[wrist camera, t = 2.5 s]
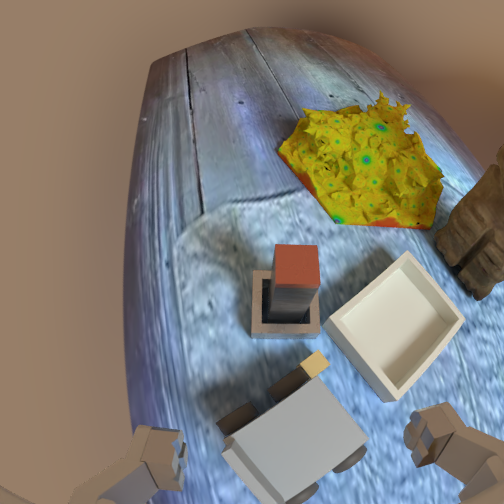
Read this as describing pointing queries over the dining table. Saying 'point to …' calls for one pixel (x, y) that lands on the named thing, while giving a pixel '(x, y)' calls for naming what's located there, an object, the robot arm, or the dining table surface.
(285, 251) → the pin
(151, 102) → the dining table surface
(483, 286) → the sculpture
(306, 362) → the block
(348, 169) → the decorative piece
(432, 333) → the tray
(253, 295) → the bracket
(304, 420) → the trolley
